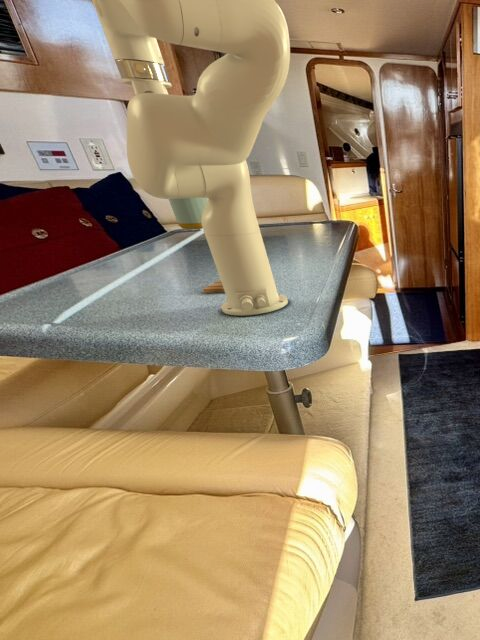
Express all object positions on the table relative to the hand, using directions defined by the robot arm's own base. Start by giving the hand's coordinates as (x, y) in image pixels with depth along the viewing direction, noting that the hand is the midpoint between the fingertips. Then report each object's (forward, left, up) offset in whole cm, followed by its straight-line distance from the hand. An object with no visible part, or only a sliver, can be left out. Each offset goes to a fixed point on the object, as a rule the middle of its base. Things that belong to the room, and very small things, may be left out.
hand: (181, 177), depth 86 cm
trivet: (+1, -2, -25) cm, 25 cm away
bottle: (0, 0, -10) cm, 10 cm away
